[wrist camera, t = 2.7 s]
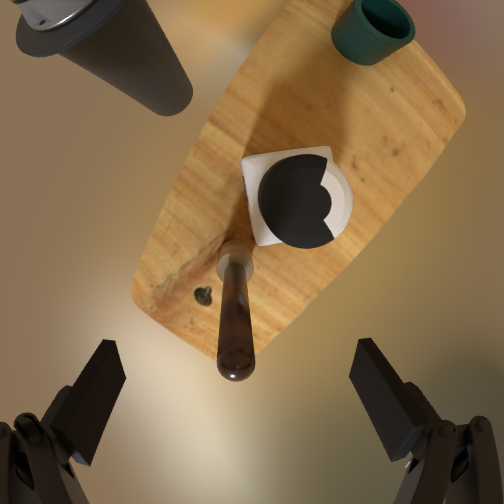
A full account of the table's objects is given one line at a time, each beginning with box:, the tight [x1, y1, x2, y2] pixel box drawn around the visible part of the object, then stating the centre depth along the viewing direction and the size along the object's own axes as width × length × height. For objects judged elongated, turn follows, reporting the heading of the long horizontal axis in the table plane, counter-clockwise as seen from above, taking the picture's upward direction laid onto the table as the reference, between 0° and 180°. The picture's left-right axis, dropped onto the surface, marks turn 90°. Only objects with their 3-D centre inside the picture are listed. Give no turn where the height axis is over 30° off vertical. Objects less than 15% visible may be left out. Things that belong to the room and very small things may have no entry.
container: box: [240, 146, 353, 249], centre depth 24 cm, size 8×8×13 cm
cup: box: [331, 0, 415, 65], centre depth 21 cm, size 7×7×8 cm
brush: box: [217, 239, 255, 381], centre depth 22 cm, size 4×4×20 cm
